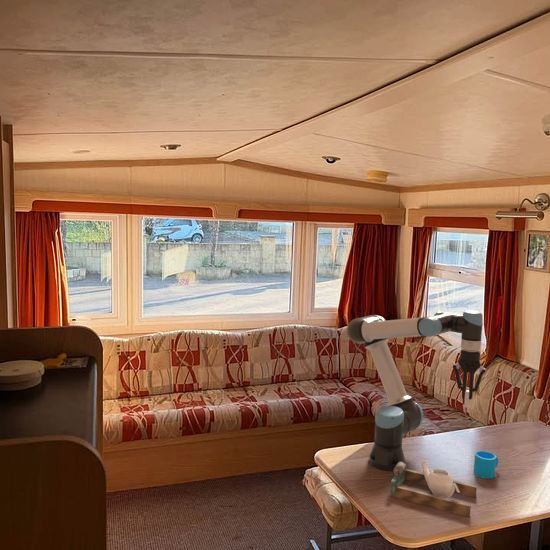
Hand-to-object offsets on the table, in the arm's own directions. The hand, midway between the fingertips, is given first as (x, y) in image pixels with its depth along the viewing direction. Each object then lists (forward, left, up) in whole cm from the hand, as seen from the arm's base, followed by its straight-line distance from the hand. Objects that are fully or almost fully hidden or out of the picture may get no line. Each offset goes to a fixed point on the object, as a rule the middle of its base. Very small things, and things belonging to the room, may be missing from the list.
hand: (466, 406), depth 218 cm
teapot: (-5, -22, -30) cm, 37 cm away
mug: (+9, +8, -30) cm, 32 cm away
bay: (-7, -23, -29) cm, 38 cm away
